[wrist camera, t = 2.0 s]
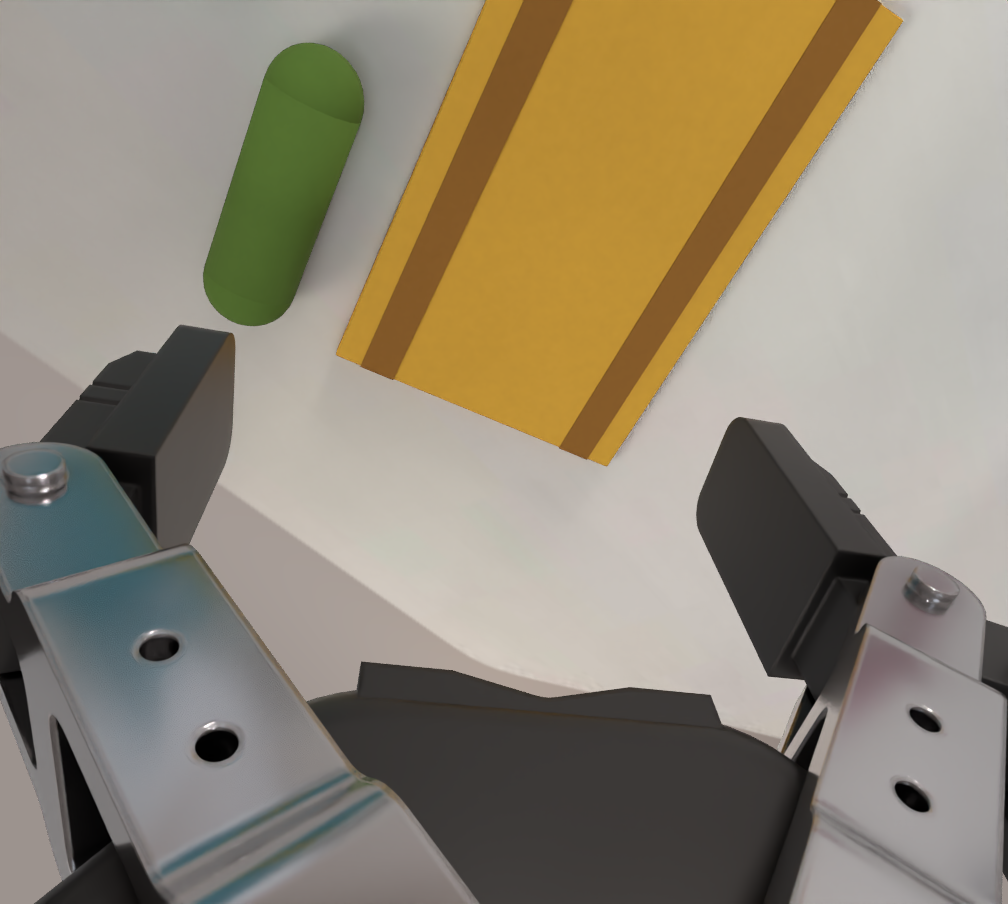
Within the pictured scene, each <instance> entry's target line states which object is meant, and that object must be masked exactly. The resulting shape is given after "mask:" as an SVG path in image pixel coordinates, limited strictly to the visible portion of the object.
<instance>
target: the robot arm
mask: <svg viewBox="0 0 1008 904" xmlns="http://www.w3.org/2000/svg"><path fill="white" fill-rule="evenodd" d="M234 372H235V339H234V335H233V334H232V333H229V332H222V331H216V330H210V329H204V328H198V327H192V326H186V325H179V326H178V327H177V328H176V329H175V331H174V332H173V333H172V335H171V336H170V337H169V338H168V340H167V341H166V342H165V344H164V345H163V346H162V348H161V349H160V350H159V351H158V353H157V354H156V353H149V352H143V351H135V352H133V353H131V354H129V355H126V356H124V357H122V358H120V359H117V360H115V361H113V362H111V363H108V365H107V366H106V367H105V368H104V369H103V370H102V371H101V373H100V374H99V375H98V376H97V377H96V378H95V379H94V381H93V384H92V385H89V386H88V387H87V388H86V390H85V391H84V392H83V393H82V394H81V395H80V399H79V400H76V401H75V402H74V403H73V404H72V406H71V407H70V408H69V409H68V410H67V411H66V412H65V414H64V415H63V416H62V417H61V418H60V419H59V420H58V422H57V423H56V424H55V425H54V426H53V427H52V428H51V429H50V431H49V432H48V433H47V434H46V435H45V436H44V437H43V438H42V440H41V441H40V442H32V443H23V444H17V445H12V446H7V447H4V448H0V701H1V704H2V706H3V709H4V711H5V714H6V716H7V719H8V722H9V724H10V727H11V729H12V732H13V735H14V737H15V740H16V742H17V745H18V747H19V750H20V753H21V755H22V758H23V761H24V763H25V766H26V768H27V771H28V773H29V776H30V779H31V781H32V784H33V786H34V789H35V792H36V794H37V797H38V801H39V803H40V807H41V810H42V814H43V817H44V821H45V825H46V829H47V833H48V837H49V841H50V844H51V847H52V851H53V855H54V858H55V861H56V864H57V867H58V870H59V873H60V876H61V879H62V882H61V883H59V884H58V885H57V886H55V887H54V888H53V889H52V890H51V891H49V892H48V893H47V894H46V895H44V896H43V897H42V898H41V899H39V900H38V901H37V902H36V903H34V904H1002V873H1003V874H1004V875H1005V877H1006V879H1007V880H1008V627H1005V626H1002V625H999V624H996V623H993V622H990V621H987V620H986V611H985V609H984V606H983V605H982V603H981V601H980V600H979V599H978V598H977V596H976V595H975V594H974V593H973V592H972V591H971V590H970V589H969V588H968V587H966V586H965V585H964V584H963V583H962V582H960V581H959V580H957V579H956V578H954V577H953V576H951V575H950V574H948V573H946V572H945V571H943V570H941V569H939V568H937V567H935V566H933V565H930V564H928V563H925V562H922V561H920V560H916V559H913V558H909V557H902V556H897V555H896V554H895V553H894V552H893V550H892V549H891V548H890V547H889V545H888V544H887V543H886V542H885V540H884V539H883V538H882V537H881V535H880V534H879V533H878V532H877V530H876V529H875V528H874V527H873V525H872V524H871V523H870V522H869V520H868V519H867V518H866V517H865V515H862V514H860V511H861V510H860V509H859V508H858V507H857V505H856V504H855V503H854V502H853V500H852V499H850V498H847V496H848V494H847V493H846V492H845V490H844V489H843V488H842V487H841V485H840V484H839V483H838V482H837V481H836V479H835V478H834V477H833V476H832V475H831V474H830V473H829V472H827V471H826V470H825V469H823V468H822V467H821V466H819V465H818V464H817V463H815V462H814V461H813V460H812V459H811V458H810V457H809V456H808V454H807V453H806V452H805V450H804V449H803V448H802V447H801V445H800V444H799V443H798V442H797V440H796V439H795V438H794V436H793V435H792V434H791V433H790V431H789V430H788V429H787V428H786V427H785V426H784V425H783V424H779V423H773V422H767V421H761V420H755V419H748V418H742V417H738V418H736V419H734V420H733V421H732V422H731V423H730V425H729V426H728V428H727V430H726V432H725V435H724V437H723V439H722V442H721V444H720V447H719V449H718V451H717V454H716V456H715V459H714V461H713V464H712V466H711V468H710V471H709V473H708V476H707V478H706V480H705V483H704V485H703V488H702V490H701V493H700V495H699V499H698V503H697V512H696V518H697V526H698V529H699V532H700V534H701V536H702V538H703V540H704V543H705V545H706V547H707V549H708V551H709V553H710V555H711V557H712V559H713V561H714V564H715V566H716V568H717V570H718V572H719V574H720V576H721V578H722V580H723V582H724V585H725V587H726V589H727V591H728V593H729V595H730V597H731V599H732V601H733V603H734V606H735V608H736V610H737V612H738V614H739V616H740V618H741V620H742V622H743V625H744V627H745V629H746V631H747V633H748V635H749V637H750V639H751V641H752V643H753V646H754V648H755V650H756V652H757V654H758V656H759V658H760V660H761V662H762V664H763V667H764V669H765V671H766V673H767V675H768V676H769V677H779V678H789V679H799V680H805V682H806V684H807V685H806V686H805V688H804V690H803V691H802V693H801V695H800V696H799V698H798V700H797V702H796V703H795V706H794V708H793V711H792V713H791V716H790V718H789V721H788V723H787V726H786V728H785V731H784V733H783V736H782V738H781V741H780V743H779V746H778V748H777V750H776V749H774V748H773V747H771V746H769V745H768V744H766V743H764V742H762V741H760V740H758V739H756V738H754V737H752V736H750V735H748V734H746V733H743V732H741V731H738V730H736V729H734V728H731V727H729V726H725V725H722V724H721V721H720V719H719V716H718V713H717V711H716V708H715V705H714V703H713V700H712V698H711V695H705V694H695V693H684V692H674V691H663V690H653V689H642V688H632V687H628V688H621V689H614V690H606V691H599V692H591V693H584V694H576V695H569V696H562V697H554V698H546V697H540V696H535V695H532V694H529V693H526V692H522V691H519V690H516V689H512V688H509V687H506V686H502V685H499V684H495V683H492V682H489V681H486V680H482V679H479V678H475V677H473V676H469V675H466V674H462V673H459V672H456V671H453V670H442V669H432V668H422V667H411V666H401V665H391V664H380V663H370V662H361V666H360V673H359V678H358V684H357V690H355V691H348V692H341V693H336V694H332V695H327V696H323V697H319V698H315V699H313V700H310V701H307V702H306V701H305V699H304V698H303V697H302V695H301V694H300V693H299V691H298V690H297V688H296V687H295V685H294V684H293V683H292V681H291V680H290V678H289V677H288V676H287V674H286V673H285V672H284V670H283V669H282V667H281V666H280V665H279V663H278V662H277V661H276V659H275V658H274V657H273V655H272V654H271V652H270V651H269V649H268V648H267V647H266V645H265V644H264V642H263V641H262V640H261V638H260V637H259V635H258V634H257V633H256V631H255V630H254V629H253V627H252V626H251V624H250V623H249V622H248V620H247V619H246V617H245V616H244V615H243V613H242V612H241V610H240V609H239V608H238V606H237V605H236V604H235V602H234V601H233V599H232V598H231V597H230V595H229V594H228V593H227V591H226V590H225V589H224V587H223V586H222V584H221V583H220V581H219V580H218V579H217V577H216V576H215V575H214V573H213V572H212V570H211V569H210V568H209V566H208V565H207V563H206V562H205V561H204V559H203V558H202V556H201V555H200V554H199V553H198V551H197V550H196V549H195V548H194V547H193V546H191V545H189V543H190V541H191V539H192V537H193V534H194V532H195V530H196V528H197V526H198V523H199V521H200V519H201V517H202V514H203V512H204V510H205V508H206V505H207V503H208V501H209V499H210V497H211V494H212V492H213V490H214V488H215V486H216V483H217V481H218V479H219V477H220V475H221V472H222V470H223V468H224V466H225V463H226V460H227V457H228V453H229V448H230V443H231V436H232V425H233V399H234Z"/></svg>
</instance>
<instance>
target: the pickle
mask: <svg viewBox="0 0 1008 904" xmlns="http://www.w3.org/2000/svg"><path fill="white" fill-rule="evenodd" d="M363 112H364V95H363V89H362V85H361V82H360V79H359V77H358V75H357V73H356V71H355V70H354V69H353V67H352V66H351V65H350V63H349V62H348V61H347V60H346V59H345V58H344V57H343V56H342V55H341V54H339V53H338V52H336V51H335V50H333V49H331V48H329V47H327V46H324V45H320V44H315V43H301V44H297V45H293V46H290V47H289V48H287V49H285V50H283V51H282V52H281V53H280V54H278V55H277V56H276V57H275V58H274V60H273V61H272V63H271V64H270V65H269V67H268V69H267V72H266V74H265V76H264V80H263V83H262V86H261V89H260V92H259V95H258V99H257V102H256V105H255V108H254V111H253V114H252V118H251V121H250V124H249V127H248V130H247V133H246V137H245V140H244V143H243V146H242V149H241V152H240V156H239V159H238V162H237V165H236V168H235V171H234V175H233V178H232V181H231V184H230V187H229V190H228V194H227V197H226V200H225V203H224V206H223V209H222V213H221V216H220V219H219V222H218V225H217V228H216V232H215V235H214V238H213V241H212V244H211V247H210V251H209V254H208V257H207V260H206V263H205V267H204V272H203V282H204V288H205V292H206V295H207V297H208V299H209V301H210V303H211V304H212V305H213V307H214V308H215V309H216V310H217V311H218V312H219V313H220V314H221V315H222V316H224V317H225V318H227V319H228V320H230V321H232V322H234V323H237V324H241V325H246V326H259V325H265V324H268V323H270V322H273V321H275V320H276V319H278V318H279V317H281V316H282V315H283V314H284V313H285V311H286V310H287V309H288V308H289V307H290V305H291V303H292V301H293V299H294V296H295V294H296V291H297V288H298V286H299V283H300V280H301V278H302V275H303V273H304V270H305V267H306V265H307V262H308V260H309V257H310V254H311V252H312V249H313V246H314V244H315V241H316V239H317V236H318V233H319V231H320V228H321V225H322V223H323V220H324V218H325V215H326V212H327V210H328V207H329V205H330V202H331V199H332V197H333V194H334V191H335V189H336V186H337V184H338V181H339V178H340V176H341V173H342V171H343V168H344V165H345V163H346V160H347V157H348V155H349V152H350V150H351V147H352V144H353V142H354V139H355V136H356V134H357V131H358V129H359V126H360V123H361V120H362V116H363Z"/></svg>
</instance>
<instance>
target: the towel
mask: <svg viewBox="0 0 1008 904" xmlns="http://www.w3.org/2000/svg"><path fill="white" fill-rule="evenodd" d="M902 22H903V20H902V19H901V18H900V17H898V16H897V15H895V14H894V13H893V12H891V11H890V10H888V9H887V8H885V7H884V6H883V5H881V3H880V2H879V1H877V0H486V1H485V3H484V6H483V8H482V10H481V13H480V15H479V18H478V20H477V22H476V25H475V27H474V29H473V32H472V34H471V36H470V39H469V41H468V43H467V46H466V48H465V50H464V53H463V55H462V57H461V60H460V62H459V65H458V67H457V69H456V72H455V74H454V76H453V79H452V81H451V83H450V86H449V88H448V90H447V93H446V95H445V97H444V100H443V102H442V105H441V107H440V109H439V112H438V114H437V116H436V119H435V121H434V123H433V126H432V128H431V130H430V133H429V135H428V137H427V140H426V142H425V144H424V147H423V149H422V152H421V154H420V156H419V159H418V161H417V163H416V166H415V168H414V170H413V173H412V175H411V177H410V180H409V182H408V184H407V187H406V189H405V191H404V194H403V196H402V199H401V201H400V203H399V206H398V208H397V210H396V213H395V215H394V217H393V220H392V222H391V224H390V227H389V229H388V231H387V234H386V236H385V238H384V241H383V243H382V246H381V248H380V250H379V253H378V255H377V257H376V260H375V262H374V264H373V267H372V269H371V271H370V274H369V276H368V278H367V281H366V283H365V285H364V288H363V290H362V293H361V295H360V297H359V300H358V302H357V304H356V307H355V309H354V311H353V314H352V316H351V318H350V321H349V323H348V325H347V328H346V330H345V332H344V335H343V337H342V340H341V342H340V344H339V347H338V349H337V352H336V355H337V356H339V357H342V358H344V359H347V360H349V361H351V362H354V363H356V364H359V365H361V366H360V367H363V368H365V369H367V370H370V371H372V372H375V373H377V374H380V375H382V376H385V377H387V378H389V379H392V380H393V379H395V380H398V381H400V382H402V383H405V384H407V385H410V386H412V387H415V388H417V389H419V390H422V391H424V392H427V393H429V394H432V395H434V396H437V397H439V398H441V399H444V400H446V401H449V402H451V403H454V404H456V405H458V406H461V407H463V408H466V409H468V410H471V411H473V412H475V413H478V414H480V415H483V416H485V417H488V418H490V419H492V420H495V421H497V422H500V423H502V424H505V425H507V426H509V427H512V428H514V429H517V430H519V431H522V432H524V433H526V434H529V435H531V436H534V437H536V438H539V439H541V440H544V441H546V442H548V443H551V444H553V445H556V446H558V447H559V448H560V449H562V450H565V451H567V452H570V453H572V454H574V455H577V456H579V457H582V458H584V459H590V460H592V461H595V462H597V463H599V464H602V465H604V466H608V464H609V463H610V461H611V460H612V458H613V457H614V455H615V454H616V452H617V451H618V449H619V448H620V446H621V445H622V443H623V442H624V440H625V439H626V437H627V436H628V434H629V433H630V431H631V430H632V428H633V427H634V425H635V424H636V422H637V420H638V419H639V417H640V416H641V414H642V413H643V411H644V410H645V408H646V407H647V405H648V404H649V402H650V401H651V399H652V398H653V396H654V395H655V393H656V392H657V390H658V389H659V387H660V386H661V384H662V383H663V381H664V380H665V378H666V377H667V375H668V374H669V372H670V371H671V369H672V368H673V366H674V365H675V363H676V362H677V360H678V359H679V357H680V356H681V354H682V353H683V351H684V350H685V348H686V347H687V345H688V344H689V342H690V341H691V339H692V338H693V336H694V335H695V333H696V332H697V330H698V329H699V327H700V326H701V324H702V323H703V321H704V320H705V318H706V317H707V315H708V314H709V312H710V311H711V309H712V308H713V306H714V305H715V303H716V302H717V300H718V299H719V297H720V296H721V294H722V293H723V291H724V290H725V288H726V287H727V285H728V284H729V282H730V281H731V279H732V278H733V276H734V275H735V273H736V272H737V270H738V269H739V267H740V266H741V264H742V263H743V261H744V260H745V258H746V257H747V255H748V254H749V252H750V251H751V249H752V248H753V246H754V245H755V243H756V242H757V240H758V239H759V237H760V236H761V234H762V233H763V231H764V230H765V228H766V227H767V225H768V224H769V222H770V221H771V219H772V218H773V216H774V215H775V213H776V212H777V210H778V208H779V207H780V205H781V204H782V202H783V201H784V199H785V198H786V196H787V195H788V193H789V192H790V190H791V189H792V187H793V186H794V184H795V183H796V181H797V180H798V178H799V177H800V175H801V174H802V172H803V171H804V169H805V168H806V166H807V165H808V163H809V162H810V160H811V159H812V157H813V156H814V154H815V153H816V151H817V150H818V148H819V147H820V145H821V144H822V142H823V141H824V139H825V138H826V136H827V135H828V133H829V132H830V130H831V129H832V127H833V126H834V124H835V123H836V121H837V120H838V118H839V117H840V115H841V114H842V112H843V111H844V109H845V108H846V106H847V105H848V103H849V102H850V100H851V99H852V97H853V96H854V94H855V93H856V91H857V90H858V88H859V87H860V85H861V84H862V82H863V81H864V79H865V78H866V76H867V75H868V73H869V72H870V70H871V69H872V67H873V66H874V64H875V63H876V61H877V60H878V58H879V57H880V55H881V54H882V52H883V51H884V49H885V48H886V46H887V45H888V43H889V42H890V40H891V39H892V37H893V36H894V34H895V33H896V31H897V30H898V28H899V27H900V25H901V24H902Z"/></svg>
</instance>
